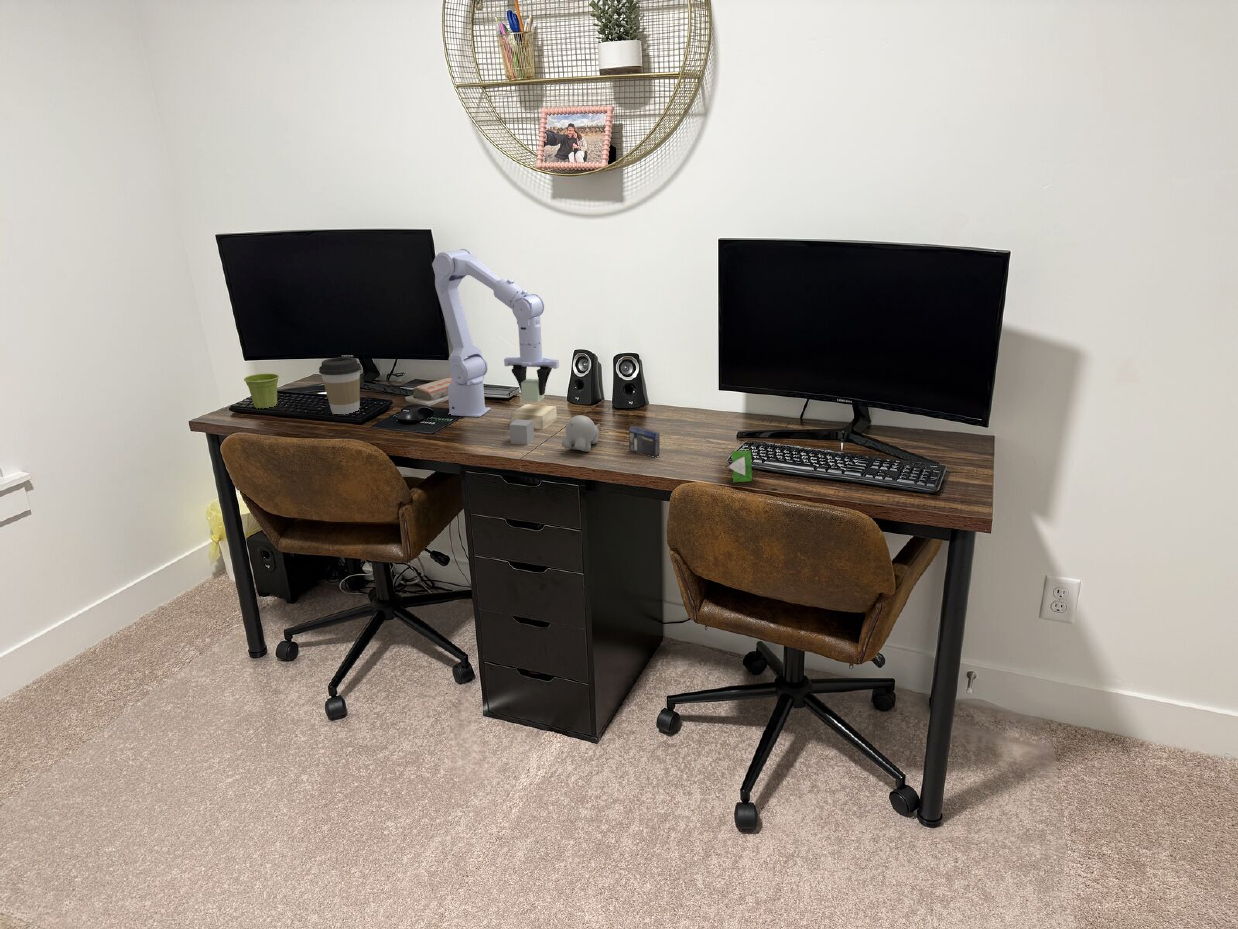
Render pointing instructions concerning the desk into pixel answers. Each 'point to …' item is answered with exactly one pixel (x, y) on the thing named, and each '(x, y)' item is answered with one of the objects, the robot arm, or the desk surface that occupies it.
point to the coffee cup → (342, 384)
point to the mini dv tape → (644, 441)
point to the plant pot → (263, 389)
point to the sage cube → (531, 390)
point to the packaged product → (430, 392)
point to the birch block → (536, 415)
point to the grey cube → (521, 432)
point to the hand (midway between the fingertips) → (533, 393)
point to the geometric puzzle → (741, 466)
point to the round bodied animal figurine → (580, 433)
